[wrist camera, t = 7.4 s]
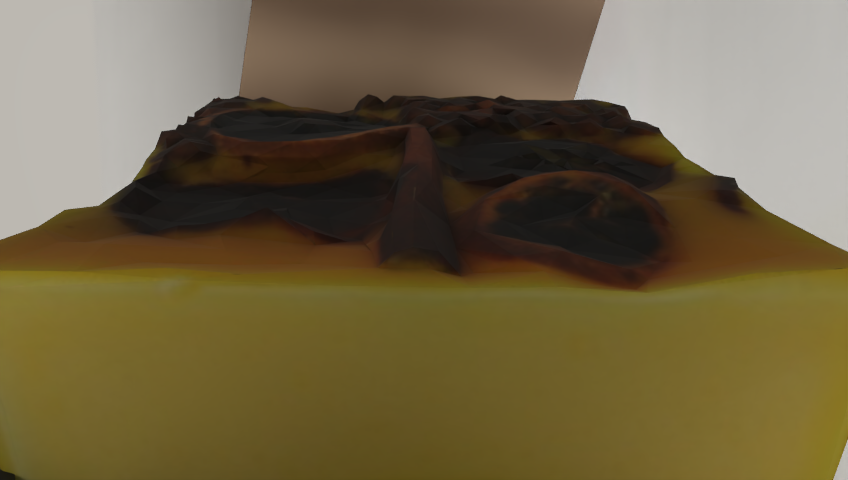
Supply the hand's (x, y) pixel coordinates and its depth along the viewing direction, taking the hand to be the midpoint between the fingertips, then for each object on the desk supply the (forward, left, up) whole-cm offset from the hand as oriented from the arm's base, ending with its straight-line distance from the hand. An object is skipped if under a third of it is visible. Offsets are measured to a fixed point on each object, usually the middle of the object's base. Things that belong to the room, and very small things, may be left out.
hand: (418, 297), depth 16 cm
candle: (0, 0, -1) cm, 1 cm away
